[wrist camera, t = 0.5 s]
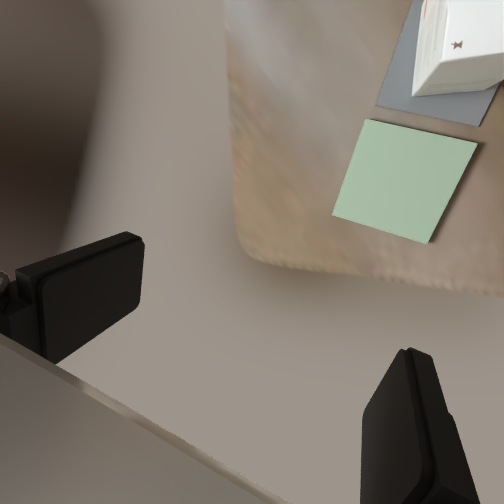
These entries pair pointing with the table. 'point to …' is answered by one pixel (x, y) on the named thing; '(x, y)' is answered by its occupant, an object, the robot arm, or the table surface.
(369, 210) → the sage board
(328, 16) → the table surface
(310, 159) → the table surface
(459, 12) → the small box
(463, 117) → the slate tile
